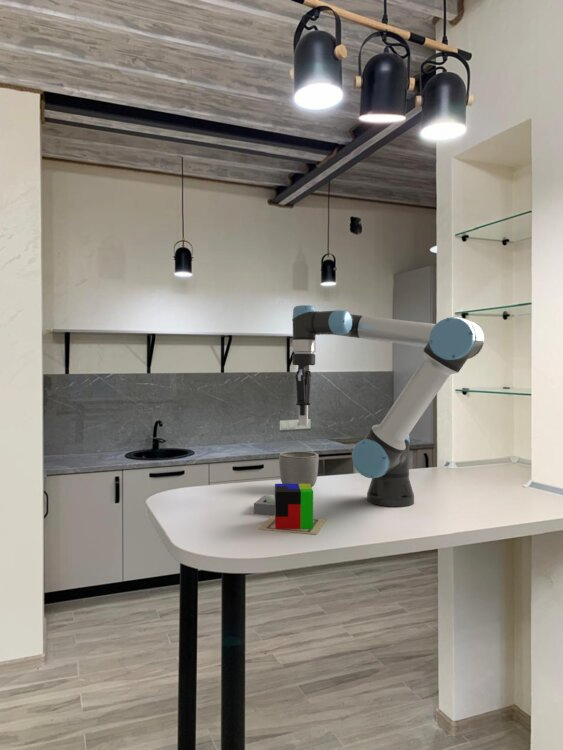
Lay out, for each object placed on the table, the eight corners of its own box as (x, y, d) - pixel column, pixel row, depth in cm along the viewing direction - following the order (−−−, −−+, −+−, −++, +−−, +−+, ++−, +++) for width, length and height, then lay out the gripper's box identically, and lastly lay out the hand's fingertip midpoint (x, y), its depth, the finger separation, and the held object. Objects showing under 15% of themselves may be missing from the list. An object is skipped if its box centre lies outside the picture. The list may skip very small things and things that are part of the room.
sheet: (325, 520, 156) (325, 519, 155) (316, 534, 143) (316, 533, 143) (271, 516, 160) (271, 515, 160) (258, 529, 147) (258, 528, 147)
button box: (294, 507, 170) (294, 497, 170) (286, 516, 160) (286, 505, 160) (263, 505, 172) (263, 495, 172) (253, 513, 163) (253, 503, 163)
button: (284, 508, 168) (284, 497, 168) (280, 512, 163) (280, 500, 163) (269, 507, 169) (269, 495, 169) (264, 511, 164) (264, 499, 164)
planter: (272, 493, 188) (272, 455, 188) (287, 485, 201) (287, 449, 201) (310, 497, 183) (311, 458, 183) (323, 488, 196) (323, 452, 196)
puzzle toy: (274, 518, 156) (275, 483, 156) (309, 518, 157) (310, 483, 157) (275, 529, 146) (275, 491, 146) (312, 529, 147) (313, 491, 147)
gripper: (297, 353, 187) (296, 422, 187) (287, 352, 174) (287, 426, 175) (319, 353, 185) (318, 423, 185) (310, 352, 172) (310, 427, 173)
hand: (303, 425), depth 180 cm, fingers closed
